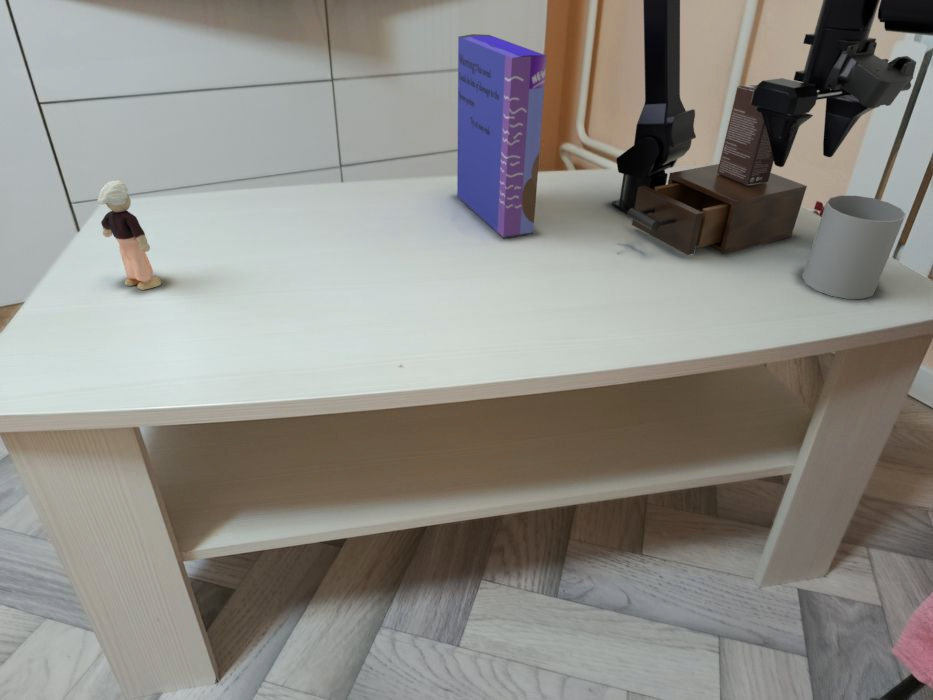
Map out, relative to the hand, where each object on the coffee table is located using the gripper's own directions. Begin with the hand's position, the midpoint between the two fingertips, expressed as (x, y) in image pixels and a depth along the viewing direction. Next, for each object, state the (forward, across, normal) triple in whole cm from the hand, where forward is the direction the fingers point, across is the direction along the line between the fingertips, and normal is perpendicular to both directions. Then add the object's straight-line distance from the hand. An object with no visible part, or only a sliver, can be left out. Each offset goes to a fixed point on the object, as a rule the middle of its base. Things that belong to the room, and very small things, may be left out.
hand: (803, 161), depth 85 cm
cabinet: (+12, -1, +9) cm, 15 cm away
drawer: (+12, -10, +9) cm, 18 cm away
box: (+5, 0, +9) cm, 10 cm away
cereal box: (+13, -29, +29) cm, 43 cm away
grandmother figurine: (+13, -79, +29) cm, 85 cm away
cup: (+13, -1, -10) cm, 16 cm away
